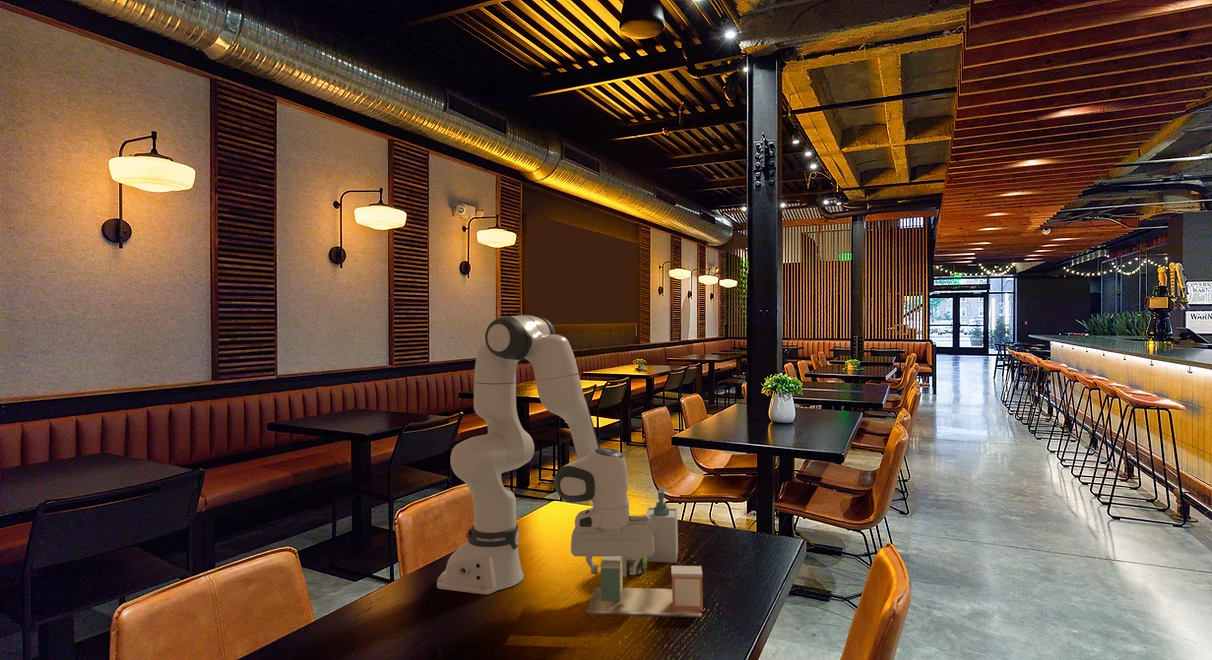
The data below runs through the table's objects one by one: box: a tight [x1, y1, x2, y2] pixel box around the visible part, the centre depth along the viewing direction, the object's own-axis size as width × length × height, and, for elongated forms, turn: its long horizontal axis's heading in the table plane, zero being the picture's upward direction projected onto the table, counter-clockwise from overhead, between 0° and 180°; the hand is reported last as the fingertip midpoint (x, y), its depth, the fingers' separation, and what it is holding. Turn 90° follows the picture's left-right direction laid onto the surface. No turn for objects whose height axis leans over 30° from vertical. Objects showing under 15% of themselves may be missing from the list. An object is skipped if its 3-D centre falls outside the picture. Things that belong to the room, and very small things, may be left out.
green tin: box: [599, 556, 624, 601], centre depth 143 cm, size 5×7×8 cm
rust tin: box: [670, 565, 704, 612], centre depth 136 cm, size 5×7×8 cm
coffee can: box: [621, 556, 648, 578], centre depth 158 cm, size 10×10×14 cm
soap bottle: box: [645, 487, 679, 564], centre depth 170 cm, size 9×9×19 cm
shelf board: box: [585, 586, 703, 618], centre depth 139 cm, size 26×14×2 cm, turn 84°
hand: (613, 573), depth 142 cm, fingers open, 8 cm apart
